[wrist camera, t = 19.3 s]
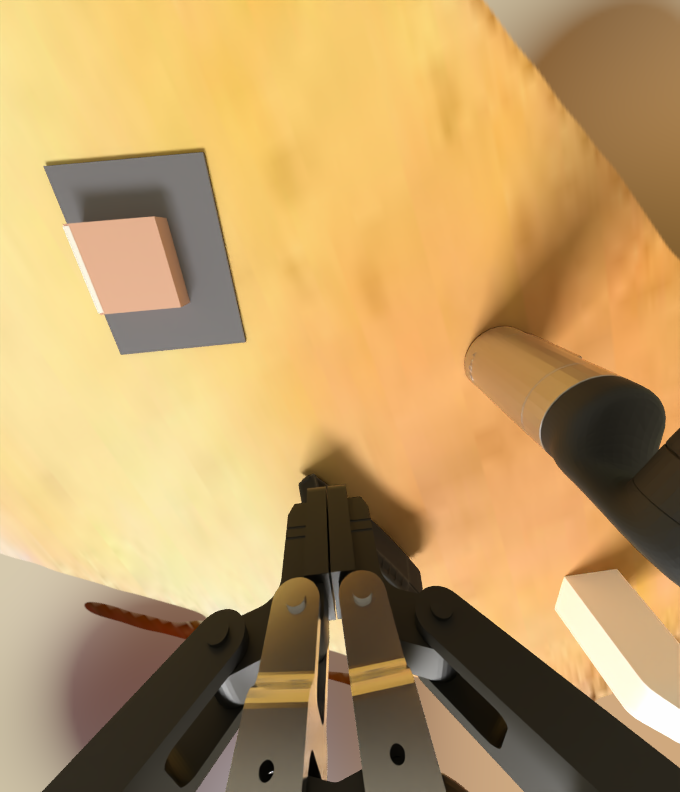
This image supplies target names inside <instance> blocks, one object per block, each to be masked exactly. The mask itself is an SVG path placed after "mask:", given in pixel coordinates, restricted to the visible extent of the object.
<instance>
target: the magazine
mask: <svg viewBox="0 0 680 792" xmlns="http://www.w3.org/2000/svg"><path fill="white" fill-rule="evenodd" d="M327 486H328V485H327V484H326V483H324V482H323V481H322V480H320V479H319V478H318V477H316V475H315V474H311V475H308V476H307V477H305V478H304V479H303V480H302V481H301V482H300V483H299V490H300V496H301V501H302V503H307V489H308V488H317V487H326V489H327ZM327 496H328V492H327ZM370 520H371V519H370ZM371 524H372V530H373V535H374V540H375V545H376V551H377V556H378V561H379V566H380V570H381V573H382V575H383V576H384V578H385V579H386V580H387V581H388V582H389V583H390V584H391V585H393V586H394V587H396V588H398V589H401V590H404V591H409V592H413V593H418V594H419V593H420V592H421V591H422V589H423V588H422V581H421V575H420V571H419V570H418V568H417V567H416V566H415V565H414V564H413V562H412V561H411V560H410V559H409V558H408V556H406V555H405V553H404V552H403V551H402V550H401V549H400V548H399V547H398V546H397V545H396V544H395V543H394V542H393V541H392V540H391V539H390V537H389V536H388V535H387V534H386V533H385V532H384V531H383V530H382V529H381V528H380V527H379V526H378V525H376V524H375V523H374V522H373V521H372V520H371Z"/></svg>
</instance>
